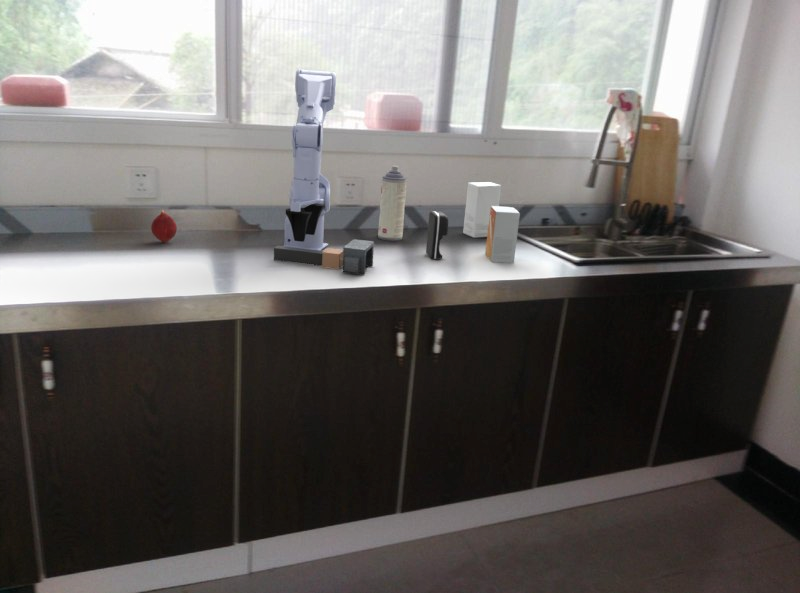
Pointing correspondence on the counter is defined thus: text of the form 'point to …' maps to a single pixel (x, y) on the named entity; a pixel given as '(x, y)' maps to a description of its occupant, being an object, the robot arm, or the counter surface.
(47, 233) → the counter surface
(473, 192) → the skincare box
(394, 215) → the aerosol can
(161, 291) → the counter surface
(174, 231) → the onion
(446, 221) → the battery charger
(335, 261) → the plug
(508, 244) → the small box
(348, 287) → the counter surface
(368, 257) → the housing
